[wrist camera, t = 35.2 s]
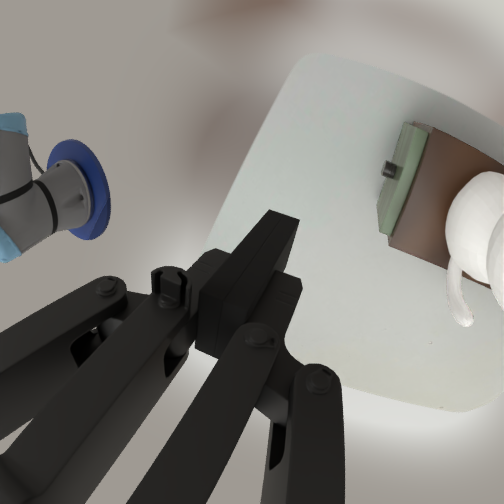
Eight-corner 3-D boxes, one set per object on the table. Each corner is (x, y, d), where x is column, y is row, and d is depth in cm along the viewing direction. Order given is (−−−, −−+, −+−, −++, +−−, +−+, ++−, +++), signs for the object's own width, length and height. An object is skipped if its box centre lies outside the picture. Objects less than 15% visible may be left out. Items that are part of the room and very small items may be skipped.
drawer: (367, 201, 32) (367, 227, 26) (393, 118, 26) (403, 121, 20) (467, 244, 29) (486, 277, 23) (499, 170, 24) (529, 190, 17)
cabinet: (383, 210, 33) (388, 245, 25) (413, 121, 26) (433, 127, 19) (476, 251, 30) (499, 293, 22) (510, 172, 23) (548, 197, 16)
